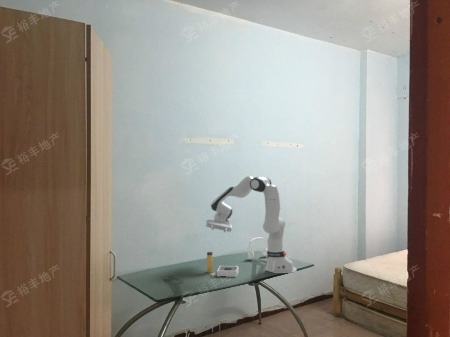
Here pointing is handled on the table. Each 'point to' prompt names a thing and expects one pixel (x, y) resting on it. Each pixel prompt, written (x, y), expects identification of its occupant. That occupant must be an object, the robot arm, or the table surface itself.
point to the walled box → (228, 271)
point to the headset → (264, 249)
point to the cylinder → (209, 262)
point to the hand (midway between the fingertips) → (218, 230)
